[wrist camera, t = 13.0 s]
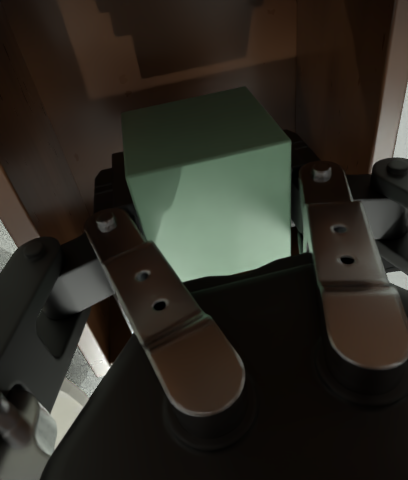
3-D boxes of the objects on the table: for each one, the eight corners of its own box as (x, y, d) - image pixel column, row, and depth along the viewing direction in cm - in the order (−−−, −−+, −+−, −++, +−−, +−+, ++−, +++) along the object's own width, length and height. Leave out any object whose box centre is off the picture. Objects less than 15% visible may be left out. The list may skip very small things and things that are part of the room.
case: (301, 216, 23) (364, 310, 17) (98, 264, 22) (96, 378, 17) (311, -135, 13) (460, -175, 8) (-49, -69, 13) (-172, -59, 7)
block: (150, 215, 16) (161, 293, 13) (120, 112, 13) (124, 177, 10) (253, 191, 16) (291, 261, 13) (246, 84, 13) (292, 139, 10)
